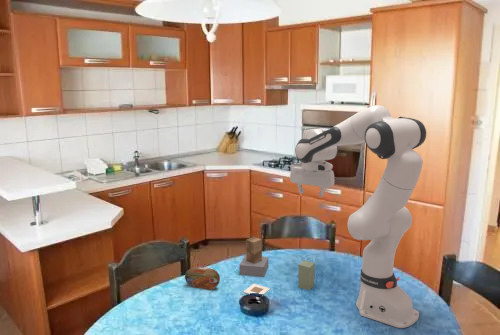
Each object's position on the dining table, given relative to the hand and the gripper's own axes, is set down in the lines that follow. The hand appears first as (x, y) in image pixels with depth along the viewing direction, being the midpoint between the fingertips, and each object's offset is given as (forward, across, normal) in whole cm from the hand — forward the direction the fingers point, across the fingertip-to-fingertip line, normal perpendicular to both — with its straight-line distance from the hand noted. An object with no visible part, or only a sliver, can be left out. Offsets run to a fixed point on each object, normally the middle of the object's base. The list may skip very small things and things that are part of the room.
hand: (311, 194), depth 186 cm
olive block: (+34, +7, -19) cm, 40 cm away
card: (+34, -9, -33) cm, 48 cm away
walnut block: (+30, -20, -17) cm, 39 cm away
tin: (+34, -30, -42) cm, 62 cm away
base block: (+34, -20, -17) cm, 43 cm away
